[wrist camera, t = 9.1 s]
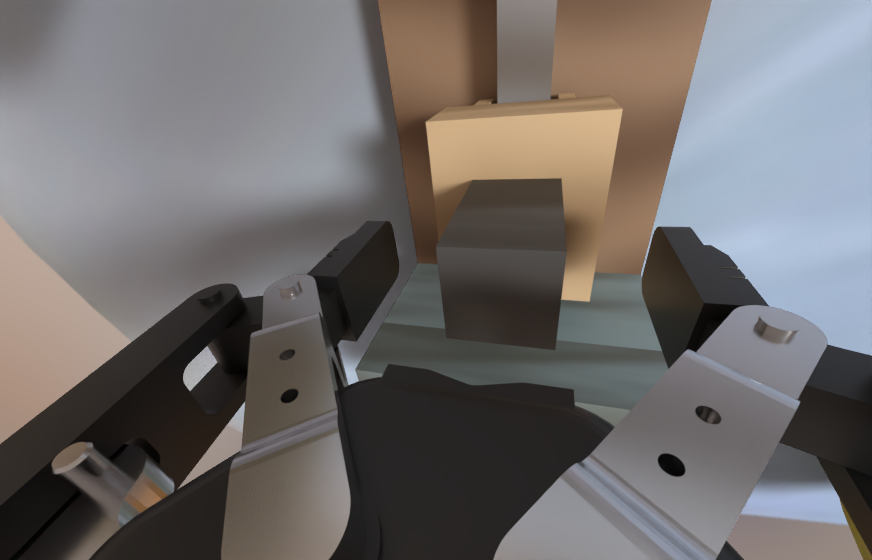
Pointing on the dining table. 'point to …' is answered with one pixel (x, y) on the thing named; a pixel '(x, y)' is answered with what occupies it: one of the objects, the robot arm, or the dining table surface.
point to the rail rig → (628, 192)
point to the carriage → (519, 212)
